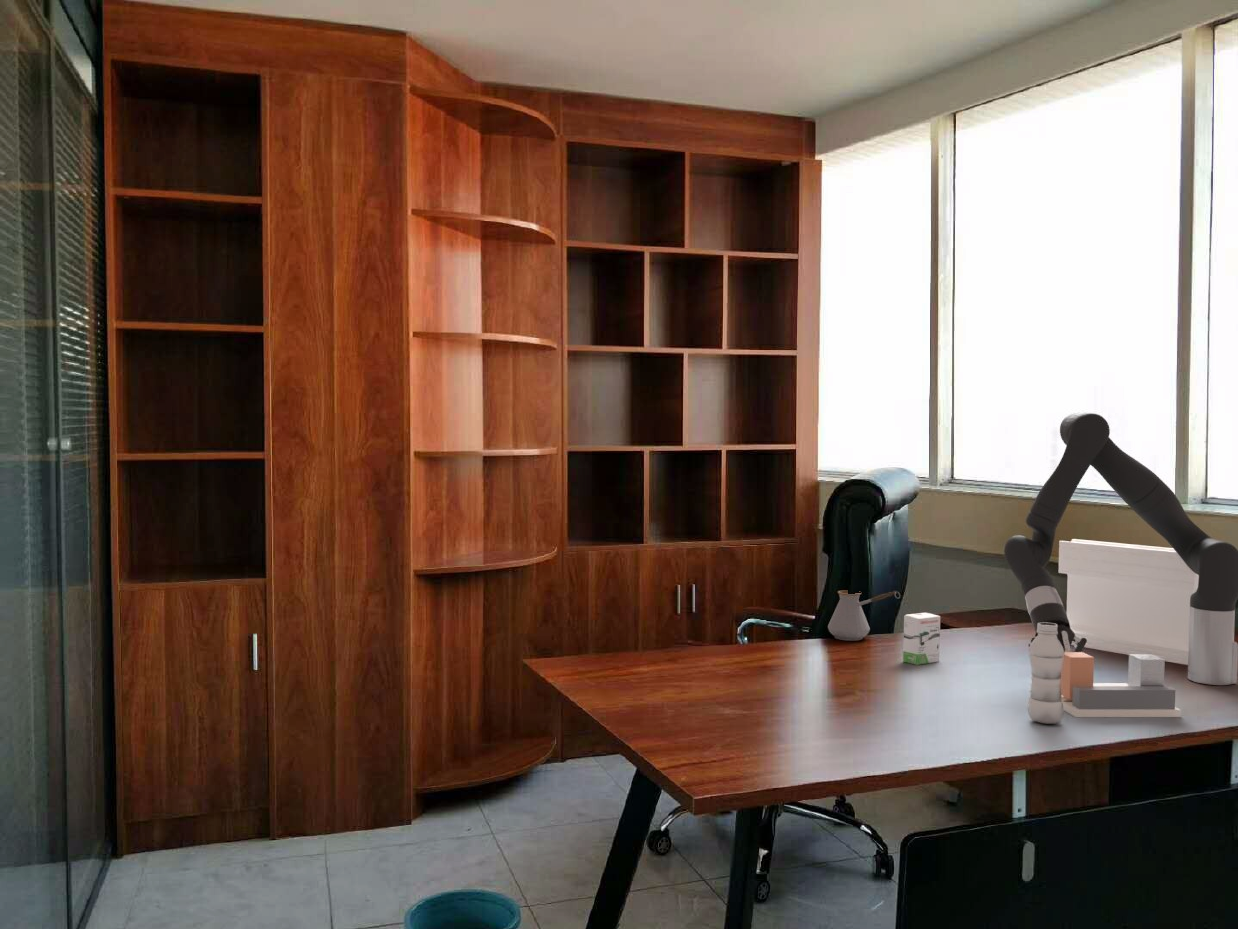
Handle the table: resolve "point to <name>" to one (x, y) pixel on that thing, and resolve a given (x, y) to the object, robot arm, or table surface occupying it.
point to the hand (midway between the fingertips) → (1069, 677)
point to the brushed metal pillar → (1145, 670)
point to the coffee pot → (851, 616)
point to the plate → (1115, 711)
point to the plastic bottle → (1046, 675)
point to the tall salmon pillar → (1076, 672)
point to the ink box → (921, 638)
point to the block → (1128, 597)
